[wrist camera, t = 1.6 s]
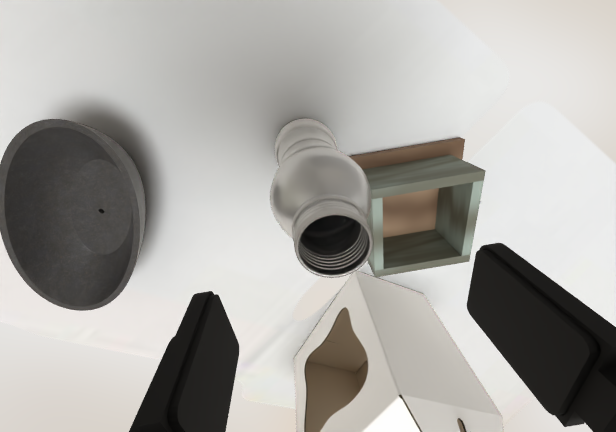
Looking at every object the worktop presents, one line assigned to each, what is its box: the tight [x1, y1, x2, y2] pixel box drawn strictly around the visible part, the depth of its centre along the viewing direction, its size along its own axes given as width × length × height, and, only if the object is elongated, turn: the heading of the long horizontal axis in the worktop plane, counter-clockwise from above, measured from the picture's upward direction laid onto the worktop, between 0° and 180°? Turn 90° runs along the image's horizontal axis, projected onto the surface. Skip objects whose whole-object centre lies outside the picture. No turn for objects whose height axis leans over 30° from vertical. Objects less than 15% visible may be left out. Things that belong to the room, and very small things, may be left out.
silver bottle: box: [270, 118, 373, 278], centre depth 21 cm, size 6×7×20 cm
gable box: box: [294, 271, 504, 432], centre depth 32 cm, size 22×13×28 cm, turn 154°
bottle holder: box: [349, 138, 485, 277], centre depth 31 cm, size 14×14×7 cm
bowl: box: [0, 119, 146, 311], centre depth 28 cm, size 12×22×6 cm, turn 157°
